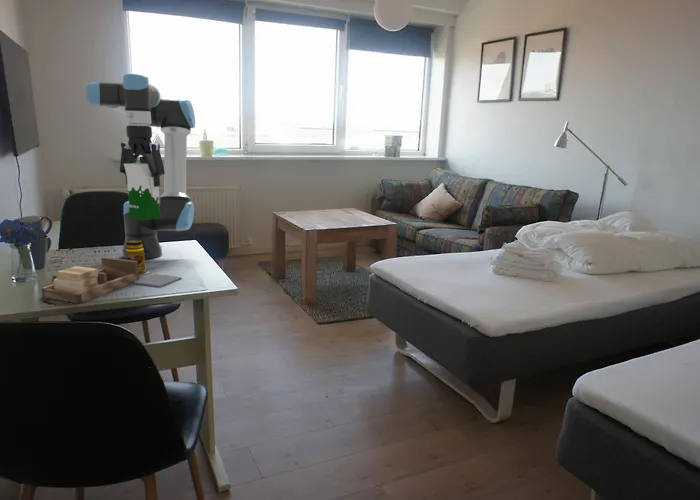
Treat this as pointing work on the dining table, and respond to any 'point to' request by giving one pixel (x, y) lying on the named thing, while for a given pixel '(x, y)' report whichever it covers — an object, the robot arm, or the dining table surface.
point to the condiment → (136, 255)
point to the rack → (100, 281)
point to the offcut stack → (76, 279)
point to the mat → (157, 280)
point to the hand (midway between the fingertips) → (143, 195)
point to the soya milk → (141, 192)
